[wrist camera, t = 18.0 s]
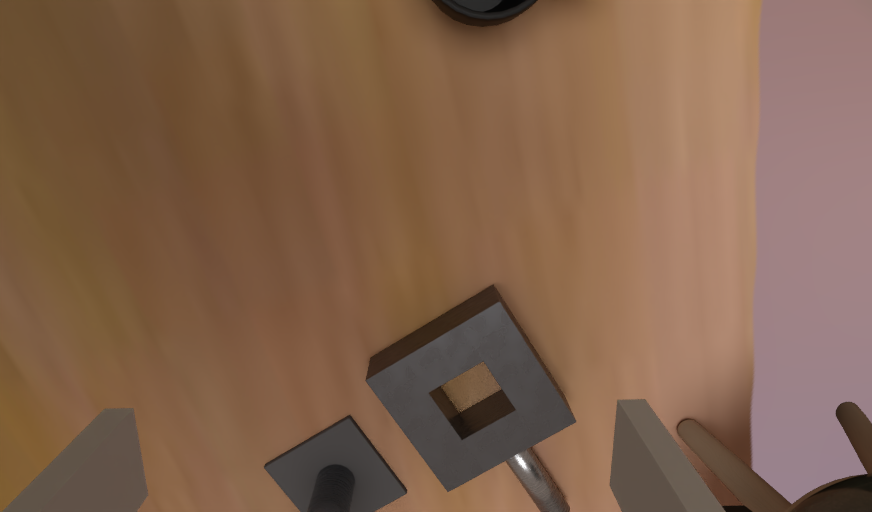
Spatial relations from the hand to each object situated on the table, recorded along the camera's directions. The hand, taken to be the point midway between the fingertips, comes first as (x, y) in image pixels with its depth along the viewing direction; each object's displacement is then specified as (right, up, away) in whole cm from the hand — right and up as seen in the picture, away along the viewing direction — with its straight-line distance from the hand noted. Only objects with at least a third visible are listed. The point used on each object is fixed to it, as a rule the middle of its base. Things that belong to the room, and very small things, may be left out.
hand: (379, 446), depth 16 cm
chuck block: (+7, -9, +34) cm, 36 cm away
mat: (-7, -14, +36) cm, 39 cm away
